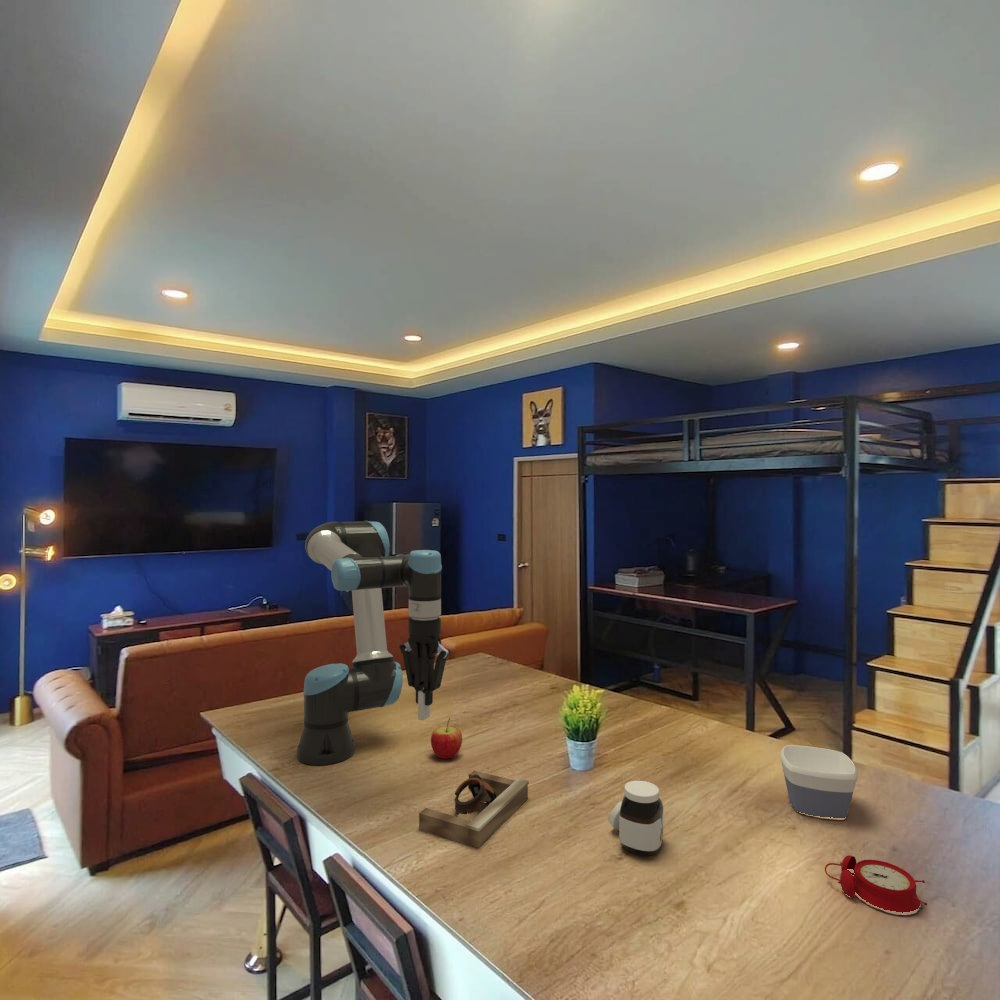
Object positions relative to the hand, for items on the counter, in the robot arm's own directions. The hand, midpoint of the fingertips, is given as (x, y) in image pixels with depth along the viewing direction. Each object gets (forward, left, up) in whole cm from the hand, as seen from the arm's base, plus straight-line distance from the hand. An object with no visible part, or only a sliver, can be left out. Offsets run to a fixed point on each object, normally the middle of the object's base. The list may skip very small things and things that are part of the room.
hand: (424, 718), depth 142 cm
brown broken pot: (+14, +1, -19) cm, 23 cm away
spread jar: (+48, +6, -19) cm, 52 cm away
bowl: (+81, +39, -19) cm, 92 cm away
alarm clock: (+90, +10, -19) cm, 93 cm away
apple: (-8, +22, -19) cm, 30 cm away
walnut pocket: (+14, 0, -19) cm, 24 cm away
